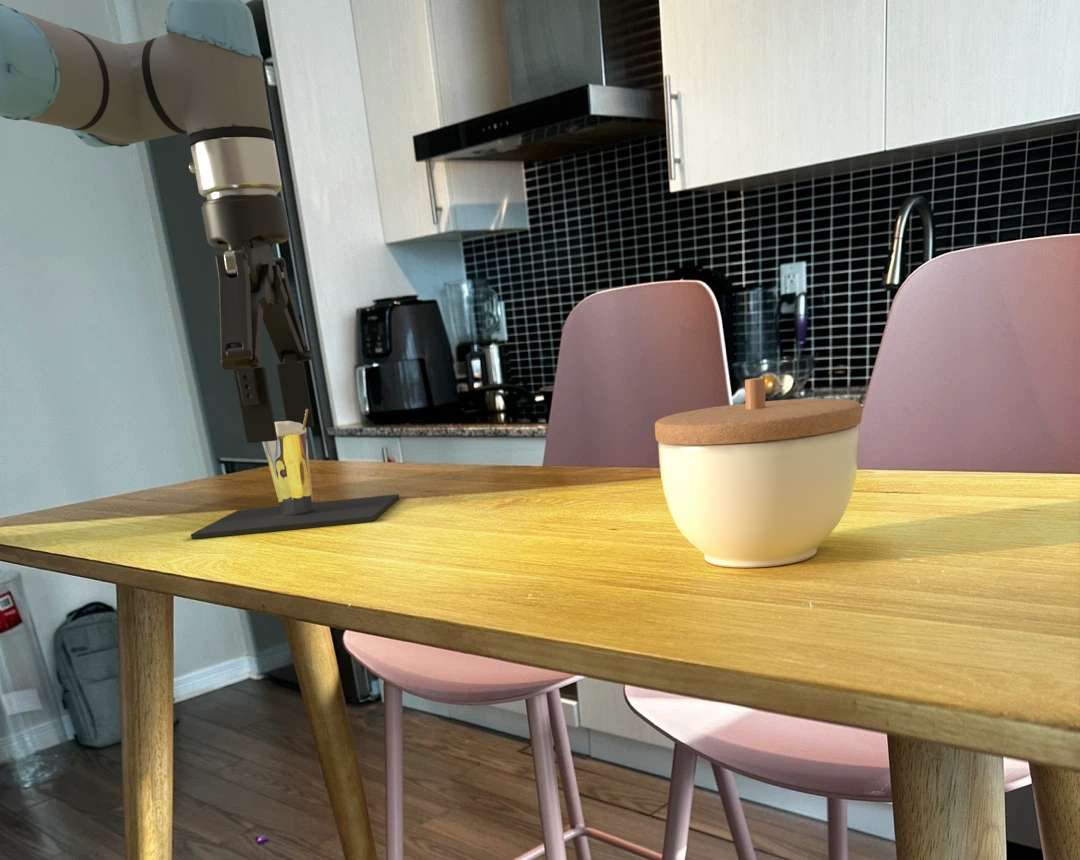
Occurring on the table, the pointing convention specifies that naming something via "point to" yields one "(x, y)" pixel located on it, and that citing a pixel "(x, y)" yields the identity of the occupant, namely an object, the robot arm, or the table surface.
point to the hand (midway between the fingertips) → (282, 434)
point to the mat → (298, 517)
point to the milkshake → (291, 467)
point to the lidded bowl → (760, 475)
